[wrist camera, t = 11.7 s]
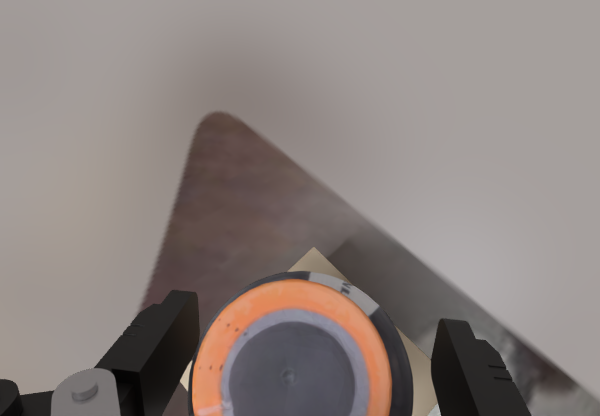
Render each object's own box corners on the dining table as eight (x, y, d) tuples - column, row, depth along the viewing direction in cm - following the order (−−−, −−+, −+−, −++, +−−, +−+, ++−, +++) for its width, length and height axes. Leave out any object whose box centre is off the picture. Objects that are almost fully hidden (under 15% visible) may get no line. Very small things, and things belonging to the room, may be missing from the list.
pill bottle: (310, 291, 20) (297, 183, 9) (404, 384, 18) (517, 379, 7) (219, 382, 18) (80, 374, 8) (309, 496, 16) (285, 688, 6)
